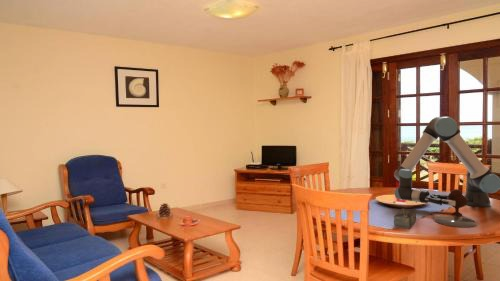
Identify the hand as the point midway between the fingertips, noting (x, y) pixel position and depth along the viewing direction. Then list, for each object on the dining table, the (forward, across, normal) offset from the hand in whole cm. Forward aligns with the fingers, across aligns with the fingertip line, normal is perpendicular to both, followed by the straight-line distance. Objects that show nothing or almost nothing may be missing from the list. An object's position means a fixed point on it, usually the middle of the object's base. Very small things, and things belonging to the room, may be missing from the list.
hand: (459, 201), depth 208 cm
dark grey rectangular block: (-14, +38, -8) cm, 42 cm away
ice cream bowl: (-1, 0, -8) cm, 8 cm away
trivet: (+3, +17, -8) cm, 19 cm away
